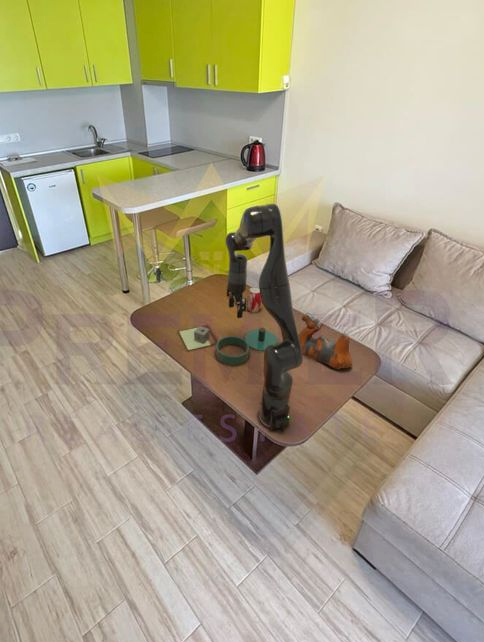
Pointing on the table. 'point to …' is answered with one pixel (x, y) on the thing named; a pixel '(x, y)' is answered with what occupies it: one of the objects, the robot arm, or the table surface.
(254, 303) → the soda can
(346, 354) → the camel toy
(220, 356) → the pot
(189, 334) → the placemat
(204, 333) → the dice cube
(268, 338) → the pot lid
